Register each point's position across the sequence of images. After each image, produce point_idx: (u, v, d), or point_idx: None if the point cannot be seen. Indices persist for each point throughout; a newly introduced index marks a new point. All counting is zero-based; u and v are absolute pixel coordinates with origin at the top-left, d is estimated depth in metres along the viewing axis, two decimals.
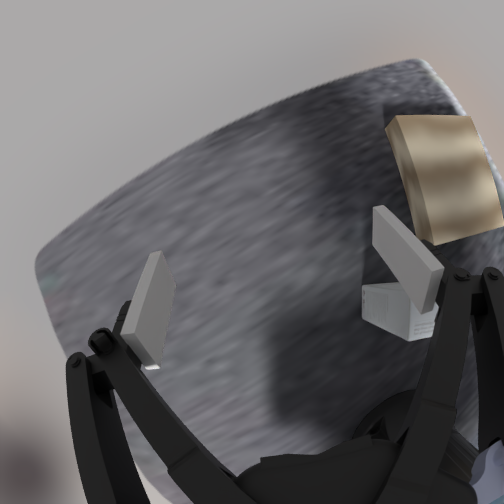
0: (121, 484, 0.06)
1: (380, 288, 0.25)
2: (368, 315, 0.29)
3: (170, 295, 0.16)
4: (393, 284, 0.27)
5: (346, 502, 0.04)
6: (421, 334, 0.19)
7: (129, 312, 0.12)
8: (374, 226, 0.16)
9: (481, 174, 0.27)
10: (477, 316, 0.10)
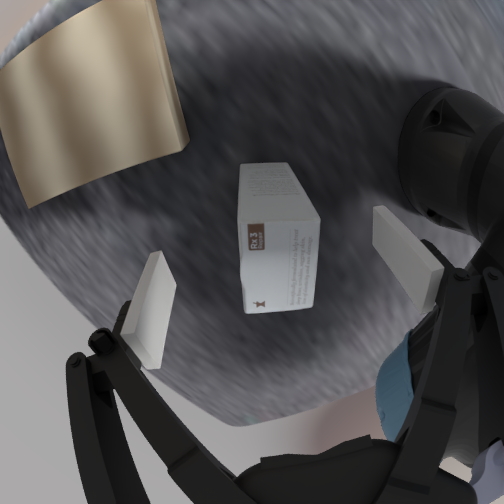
0: (121, 484, 0.06)
1: None
2: None
3: (170, 295, 0.16)
4: None
5: (346, 502, 0.04)
6: (307, 293, 0.16)
7: (129, 312, 0.12)
8: (374, 226, 0.16)
9: (60, 51, 0.13)
10: (476, 316, 0.10)
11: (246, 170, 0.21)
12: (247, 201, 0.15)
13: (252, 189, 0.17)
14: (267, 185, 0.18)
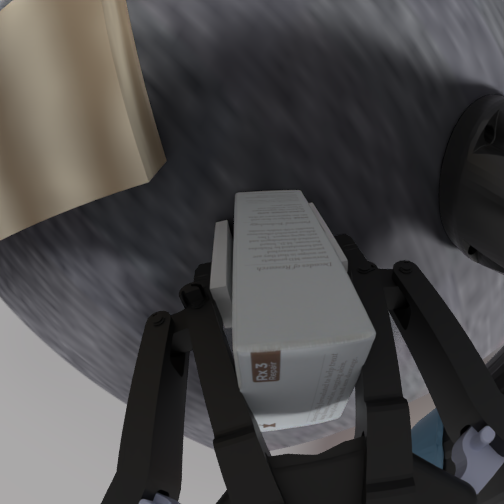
0: (161, 459, 0.07)
1: None
2: None
3: None
4: None
5: (346, 502, 0.04)
6: (336, 409, 0.09)
7: (213, 270, 0.14)
8: None
9: None
10: (398, 313, 0.11)
11: (244, 206, 0.15)
12: (248, 286, 0.09)
13: (254, 252, 0.11)
14: (278, 241, 0.12)
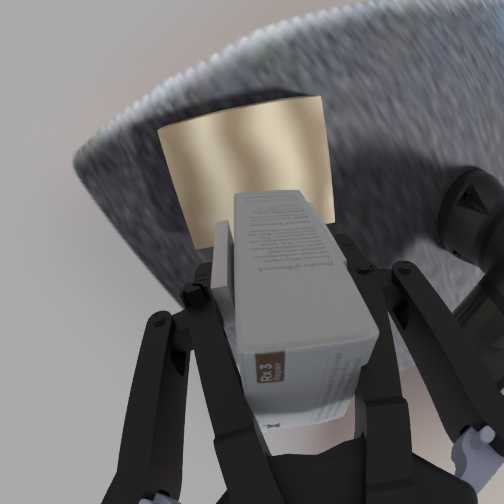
0: (161, 459, 0.07)
1: None
2: None
3: None
4: None
5: (346, 502, 0.04)
6: (340, 408, 0.09)
7: (214, 269, 0.14)
8: None
9: (251, 132, 0.25)
10: (398, 313, 0.11)
11: (244, 206, 0.15)
12: (250, 287, 0.09)
13: (255, 252, 0.11)
14: (279, 242, 0.12)
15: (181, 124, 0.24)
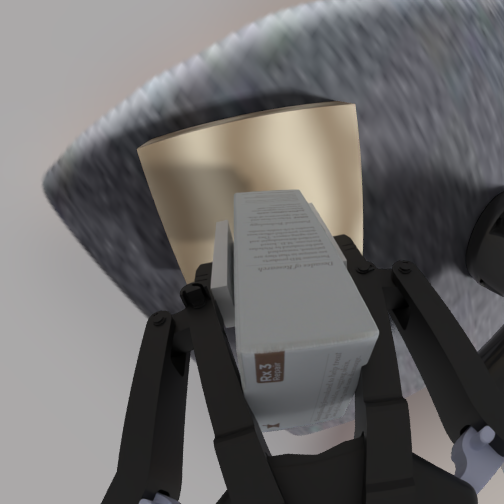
0: (161, 459, 0.07)
1: None
2: None
3: None
4: None
5: (346, 502, 0.04)
6: (340, 408, 0.09)
7: (214, 269, 0.14)
8: None
9: (262, 151, 0.19)
10: (397, 313, 0.11)
11: (243, 206, 0.15)
12: (250, 287, 0.09)
13: (255, 252, 0.11)
14: (279, 241, 0.12)
15: (168, 141, 0.18)
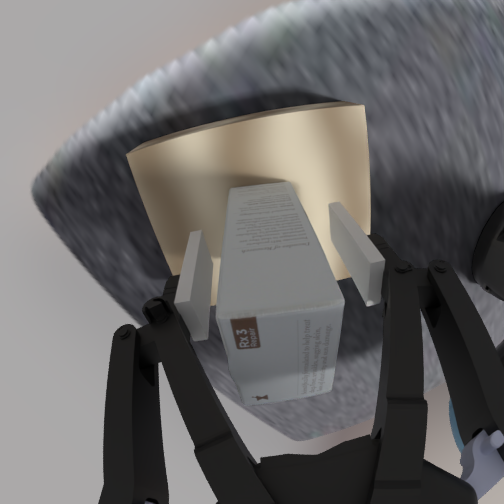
0: (144, 467, 0.07)
1: None
2: None
3: (210, 273, 0.17)
4: None
5: (346, 502, 0.04)
6: (324, 381, 0.11)
7: (180, 283, 0.13)
8: (330, 222, 0.17)
9: (263, 156, 0.17)
10: (429, 311, 0.11)
11: (236, 199, 0.16)
12: (232, 266, 0.10)
13: (241, 237, 0.12)
14: (263, 227, 0.13)
15: (160, 145, 0.17)
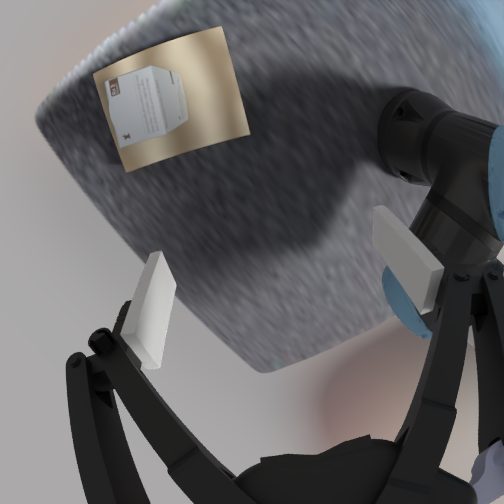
0: (121, 484, 0.06)
1: None
2: None
3: (171, 295, 0.16)
4: None
5: (346, 502, 0.04)
6: (157, 121, 0.19)
7: (129, 312, 0.12)
8: (374, 226, 0.16)
9: (164, 63, 0.25)
10: (476, 316, 0.10)
11: None
12: None
13: None
14: None
15: (110, 66, 0.24)
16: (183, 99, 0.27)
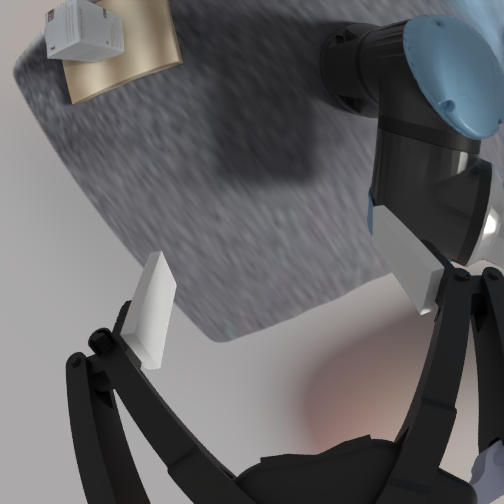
0: (121, 484, 0.06)
1: None
2: (112, 53, 0.24)
3: (171, 295, 0.16)
4: None
5: (346, 502, 0.04)
6: (74, 32, 0.15)
7: (129, 312, 0.12)
8: (374, 226, 0.16)
9: (110, 10, 0.22)
10: (477, 316, 0.10)
11: None
12: None
13: None
14: None
15: None
16: (119, 34, 0.24)
